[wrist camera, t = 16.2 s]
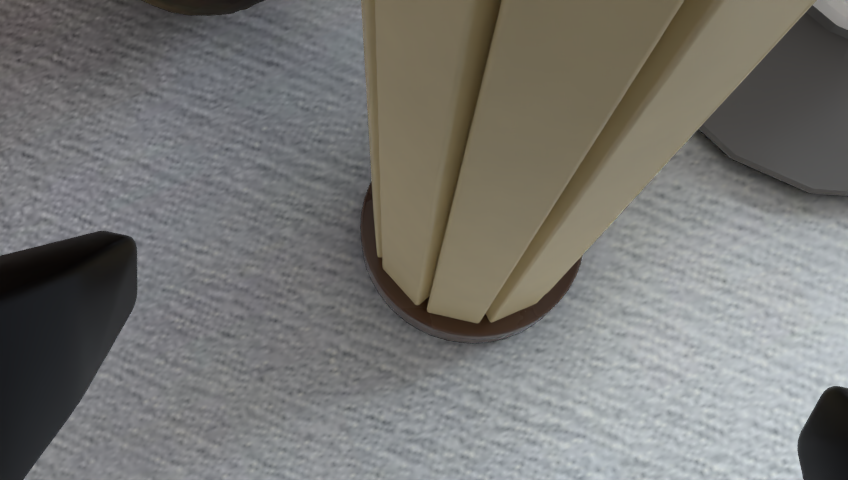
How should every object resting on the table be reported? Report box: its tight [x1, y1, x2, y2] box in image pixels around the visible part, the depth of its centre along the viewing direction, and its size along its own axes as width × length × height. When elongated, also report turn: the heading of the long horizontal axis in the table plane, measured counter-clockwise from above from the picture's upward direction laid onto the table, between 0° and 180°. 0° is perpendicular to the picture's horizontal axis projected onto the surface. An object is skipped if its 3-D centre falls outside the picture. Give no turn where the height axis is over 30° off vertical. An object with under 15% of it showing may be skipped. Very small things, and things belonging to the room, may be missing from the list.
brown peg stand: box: [360, 181, 583, 343], centre depth 16 cm, size 6×6×5 cm
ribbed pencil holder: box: [361, 0, 817, 323], centre depth 11 cm, size 5×5×12 cm
